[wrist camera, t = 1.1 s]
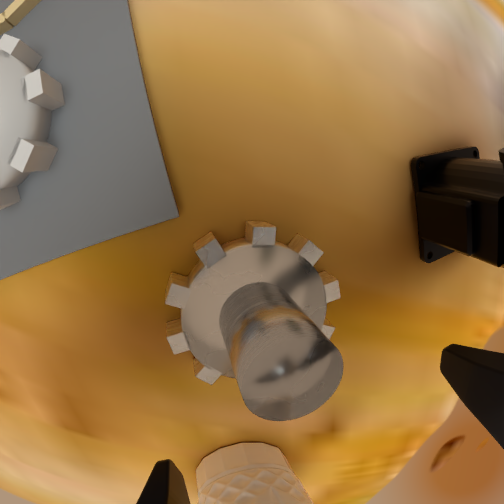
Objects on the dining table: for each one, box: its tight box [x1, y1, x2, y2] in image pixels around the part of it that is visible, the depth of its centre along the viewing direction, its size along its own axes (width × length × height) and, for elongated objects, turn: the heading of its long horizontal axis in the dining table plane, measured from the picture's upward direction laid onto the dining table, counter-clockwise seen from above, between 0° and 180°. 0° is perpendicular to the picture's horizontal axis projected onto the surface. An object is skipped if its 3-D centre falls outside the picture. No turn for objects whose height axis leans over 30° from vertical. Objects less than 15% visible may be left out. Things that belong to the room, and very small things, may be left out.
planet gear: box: [165, 221, 343, 421], centre depth 13 cm, size 8×8×6 cm
